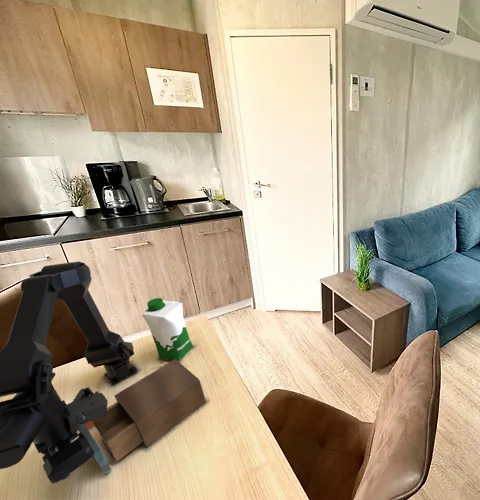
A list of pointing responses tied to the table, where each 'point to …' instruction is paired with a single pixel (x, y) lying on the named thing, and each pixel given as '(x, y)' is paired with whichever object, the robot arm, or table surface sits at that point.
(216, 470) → the table surface
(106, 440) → the drawer
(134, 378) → the table surface
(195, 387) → the cabinet
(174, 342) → the milk carton
